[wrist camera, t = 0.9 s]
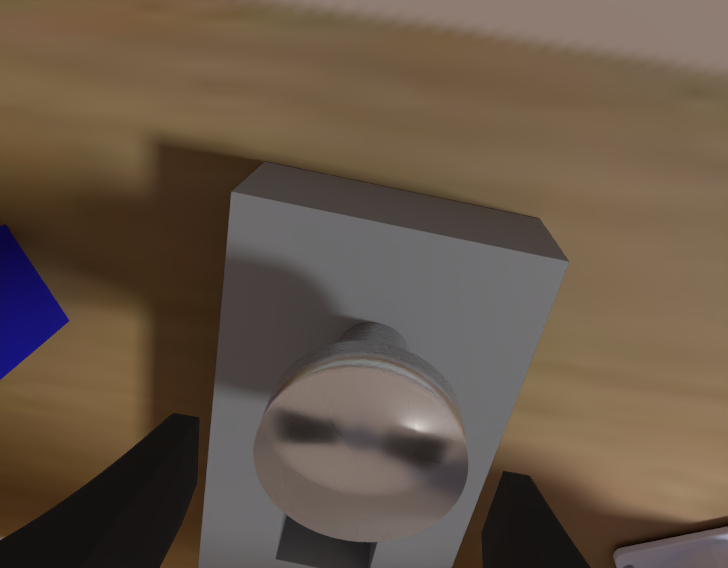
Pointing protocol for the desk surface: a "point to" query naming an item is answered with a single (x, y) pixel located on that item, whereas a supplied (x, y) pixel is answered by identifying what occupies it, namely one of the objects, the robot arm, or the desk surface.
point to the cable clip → (23, 306)
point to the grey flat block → (354, 306)
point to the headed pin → (362, 439)
